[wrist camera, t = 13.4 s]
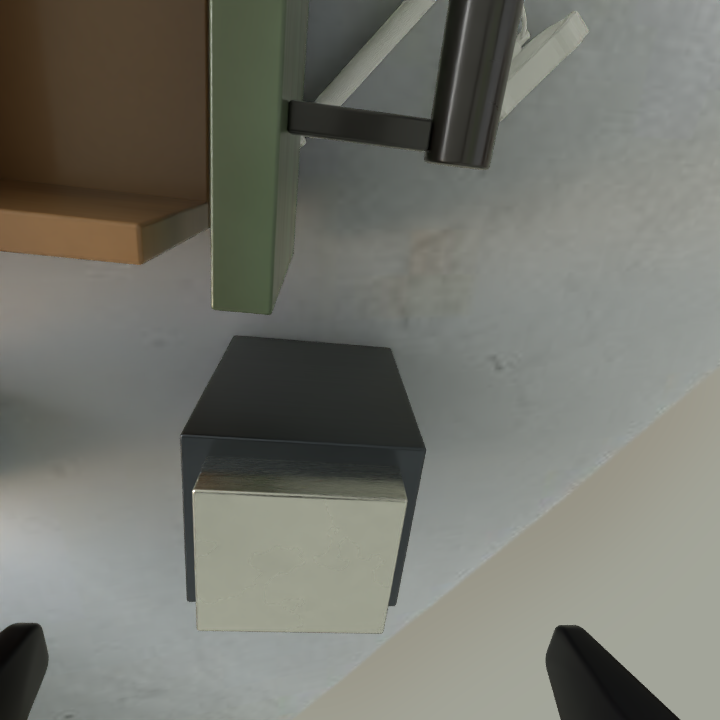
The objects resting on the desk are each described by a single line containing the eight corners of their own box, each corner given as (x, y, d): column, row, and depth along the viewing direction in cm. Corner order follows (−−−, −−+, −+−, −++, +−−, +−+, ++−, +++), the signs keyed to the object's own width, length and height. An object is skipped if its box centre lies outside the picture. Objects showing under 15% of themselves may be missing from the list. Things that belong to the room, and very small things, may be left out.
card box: (391, 347, 18) (439, 482, 10) (374, 465, 20) (402, 649, 12) (233, 334, 17) (161, 467, 10) (232, 458, 19) (172, 646, 12)
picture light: (644, -269, 12) (707, -354, 10) (719, -104, 13) (786, -150, 11) (273, 146, 15) (265, 144, 13) (365, 244, 16) (370, 255, 14)
